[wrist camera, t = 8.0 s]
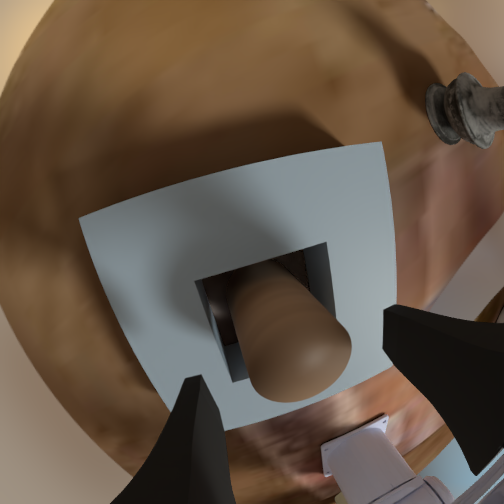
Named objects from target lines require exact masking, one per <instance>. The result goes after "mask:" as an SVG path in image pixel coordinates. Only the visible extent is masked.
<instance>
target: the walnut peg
mask: <svg viewBox="0 0 504 504" xmlns="http://www.w3.org/2000/svg"><path fill="white" fill-rule="evenodd" d="M226 297H227V302H228V306H229V309H230V313H231V317H232V320H233V324H234V327H235V331H236V334H237V338H238V341H239V345H240V348H241V352H242V355H243V358H244V362H245V365H246V369H247V372H248V375H249V378H250V382H251V384H252V386H253V388H254V389H255V391H256V392H257V393H258V394H259V395H261V396H262V397H264V398H266V399H268V400H271V401H274V402H281V403H291V402H298V401H302V400H305V399H308V398H311V397H313V396H315V395H317V394H319V393H321V392H323V391H324V390H326V389H327V388H328V387H330V386H331V385H332V384H333V383H334V382H335V381H336V380H337V379H338V378H339V377H340V376H341V374H342V373H343V371H344V370H345V368H346V366H347V364H348V362H349V359H350V356H351V351H352V342H351V338H350V335H349V333H348V331H347V330H346V329H345V328H344V327H343V325H342V324H341V323H340V322H339V321H338V320H337V319H336V318H335V317H334V316H333V315H332V314H331V313H330V312H329V311H328V310H327V309H326V308H325V307H324V306H323V305H322V304H321V303H320V302H319V301H318V300H317V299H316V298H315V297H314V296H313V295H312V294H311V293H310V292H309V291H308V290H307V289H306V288H305V287H304V286H303V285H302V284H301V283H300V282H299V281H298V280H297V279H296V278H295V277H294V276H293V275H292V274H291V273H290V272H289V271H288V270H287V269H286V268H285V267H284V266H283V265H282V264H280V263H279V262H277V261H274V260H271V259H267V260H264V261H261V262H257V263H254V264H251V265H247V266H244V267H241V268H237V270H236V271H235V272H234V273H233V274H232V276H231V277H230V279H229V281H228V284H227V289H226Z"/></svg>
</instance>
